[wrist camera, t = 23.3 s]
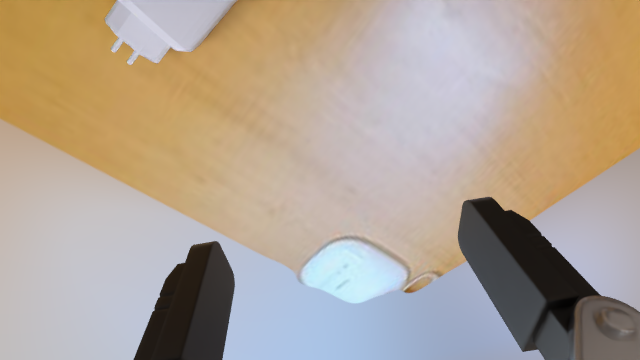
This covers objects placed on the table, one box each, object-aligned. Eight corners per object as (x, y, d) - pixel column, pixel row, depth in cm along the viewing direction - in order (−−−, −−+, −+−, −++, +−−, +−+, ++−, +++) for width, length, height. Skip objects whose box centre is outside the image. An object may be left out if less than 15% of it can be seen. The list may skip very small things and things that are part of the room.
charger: (89, 17, 32) (173, -114, 27) (168, 82, 36) (254, -20, 31) (60, 24, 28) (152, -128, 23) (153, 96, 32) (248, -18, 27)
